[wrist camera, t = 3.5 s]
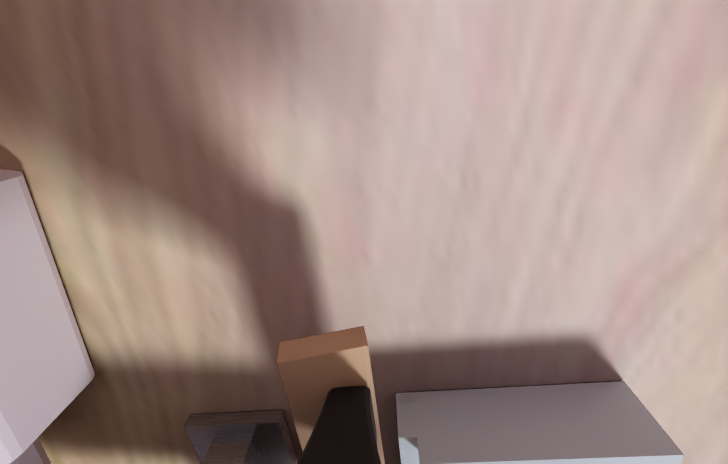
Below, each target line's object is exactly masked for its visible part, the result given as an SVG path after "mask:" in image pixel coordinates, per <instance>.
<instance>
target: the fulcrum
mask: <svg viewBox="0 0 728 464" xmlns="http://www.w3.org/2000/svg"><path fill="white" fill-rule="evenodd" d="M184 429H185V431H186V433H187V435H188V437H189V439H190V441H191V443H192V445H193V447H194V449H195V451H196V453H197V455H198V457H199V459H200V461H201V463H202V464H297V463H298V459H297V456H296V453H295V449H294V446H293V443H292V440H291V436H290V433H289V430H288V427H287V423H286V420H285V417H284V414H283V410H276V411H256V412H236V413H216V414H196V415H190V416H189V418H188V420H187V421H186V423H185V425H184Z"/></svg>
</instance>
